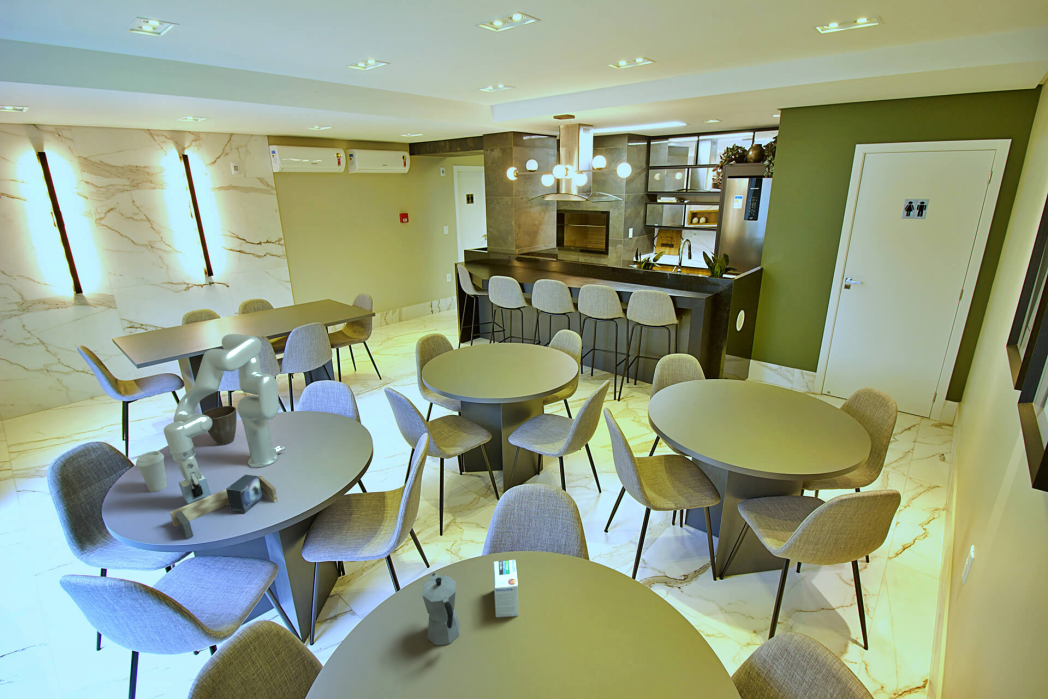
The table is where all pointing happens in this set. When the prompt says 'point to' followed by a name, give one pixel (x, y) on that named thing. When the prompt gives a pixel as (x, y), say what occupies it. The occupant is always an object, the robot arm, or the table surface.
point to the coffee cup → (153, 470)
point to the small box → (244, 494)
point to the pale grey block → (188, 492)
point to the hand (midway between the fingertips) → (196, 492)
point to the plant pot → (222, 424)
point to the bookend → (184, 524)
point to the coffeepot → (441, 609)
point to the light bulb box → (506, 588)
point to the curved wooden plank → (217, 502)
